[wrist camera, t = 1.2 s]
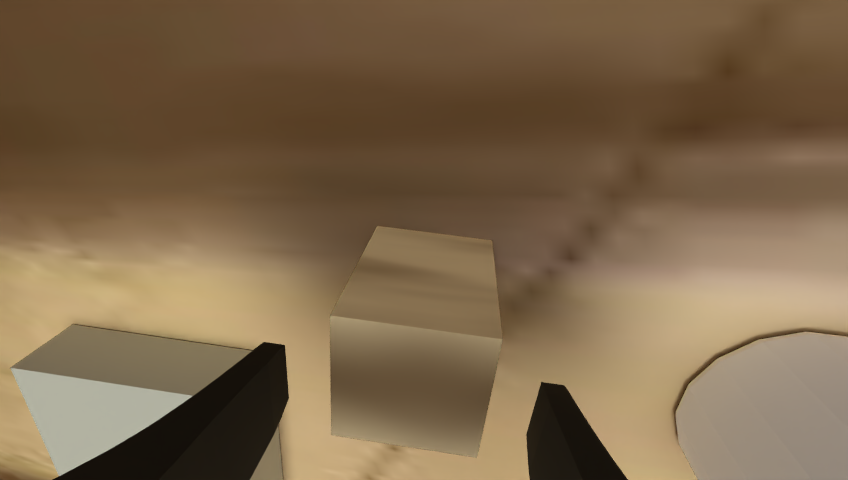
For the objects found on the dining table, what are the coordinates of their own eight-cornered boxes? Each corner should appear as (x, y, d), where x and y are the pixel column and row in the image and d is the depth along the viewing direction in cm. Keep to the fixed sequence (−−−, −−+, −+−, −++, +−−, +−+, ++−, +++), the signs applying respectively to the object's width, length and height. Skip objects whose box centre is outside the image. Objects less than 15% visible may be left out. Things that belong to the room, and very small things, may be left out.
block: (475, 333, 18) (477, 458, 12) (373, 318, 18) (331, 434, 13) (492, 240, 16) (502, 339, 10) (377, 225, 16) (330, 315, 11)
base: (283, 488, 24) (259, 544, 21) (119, 461, 24) (75, 512, 22) (271, 353, 19) (239, 403, 17) (72, 324, 20) (10, 367, 17)
